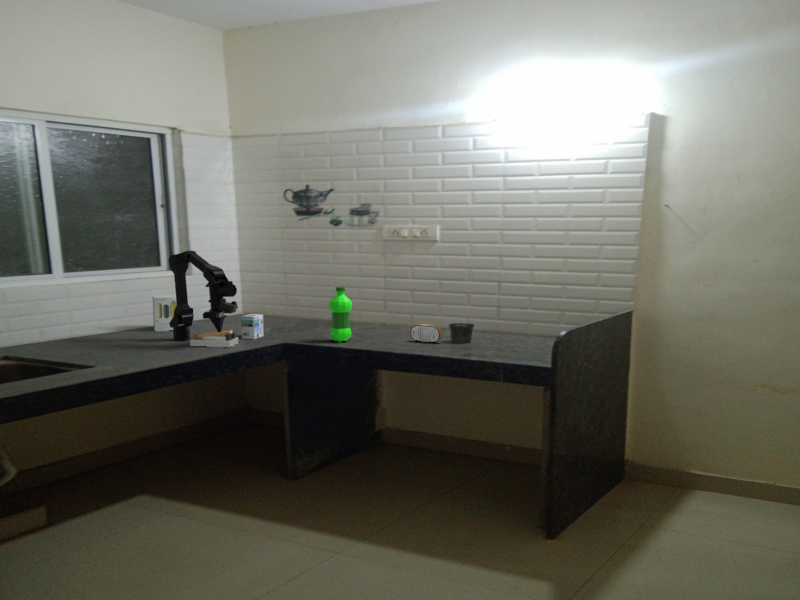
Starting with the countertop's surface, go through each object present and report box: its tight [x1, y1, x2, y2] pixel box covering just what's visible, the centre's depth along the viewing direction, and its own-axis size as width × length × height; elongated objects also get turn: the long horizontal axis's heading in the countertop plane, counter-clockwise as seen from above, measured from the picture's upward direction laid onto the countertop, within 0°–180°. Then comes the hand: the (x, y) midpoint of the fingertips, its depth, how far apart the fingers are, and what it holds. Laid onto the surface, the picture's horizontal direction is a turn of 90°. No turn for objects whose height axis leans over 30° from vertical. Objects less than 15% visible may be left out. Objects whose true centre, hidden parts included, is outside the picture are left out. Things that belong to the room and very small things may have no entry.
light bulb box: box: [241, 313, 264, 340], centre depth 301 cm, size 11×7×11 cm, turn 168°
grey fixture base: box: [189, 331, 239, 348], centre depth 280 cm, size 18×10×6 cm, turn 82°
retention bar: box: [197, 329, 234, 338], centre depth 280 cm, size 16×3×1 cm, turn 83°
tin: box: [409, 323, 443, 343], centre depth 289 cm, size 15×3×8 cm, turn 65°
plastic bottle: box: [328, 286, 353, 343], centre depth 290 cm, size 10×10×25 cm
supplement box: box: [152, 293, 177, 332], centre depth 327 cm, size 13×13×18 cm
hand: (219, 332), depth 279 cm, fingers closed, pressing on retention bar
